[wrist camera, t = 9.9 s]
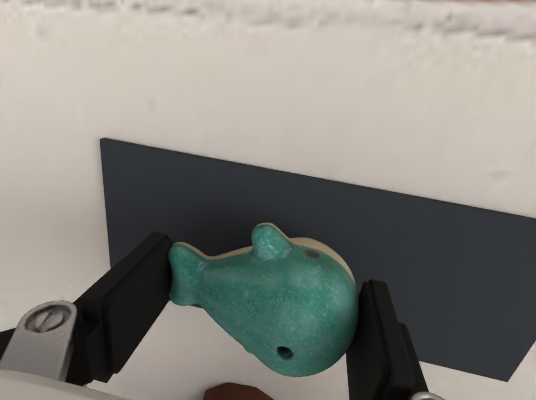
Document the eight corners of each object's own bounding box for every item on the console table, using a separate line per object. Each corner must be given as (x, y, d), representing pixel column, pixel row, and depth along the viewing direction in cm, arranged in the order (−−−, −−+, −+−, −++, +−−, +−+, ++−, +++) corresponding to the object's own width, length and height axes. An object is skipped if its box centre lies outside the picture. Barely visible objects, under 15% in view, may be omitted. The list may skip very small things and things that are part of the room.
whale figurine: (336, 342, 13) (340, 435, 10) (180, 305, 14) (133, 379, 11) (371, 228, 11) (393, 297, 8) (183, 191, 12) (124, 238, 8)
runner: (600, 230, 11) (608, 234, 11) (504, 376, 14) (507, 382, 14) (104, 137, 13) (99, 139, 13) (115, 283, 16) (111, 286, 16)
